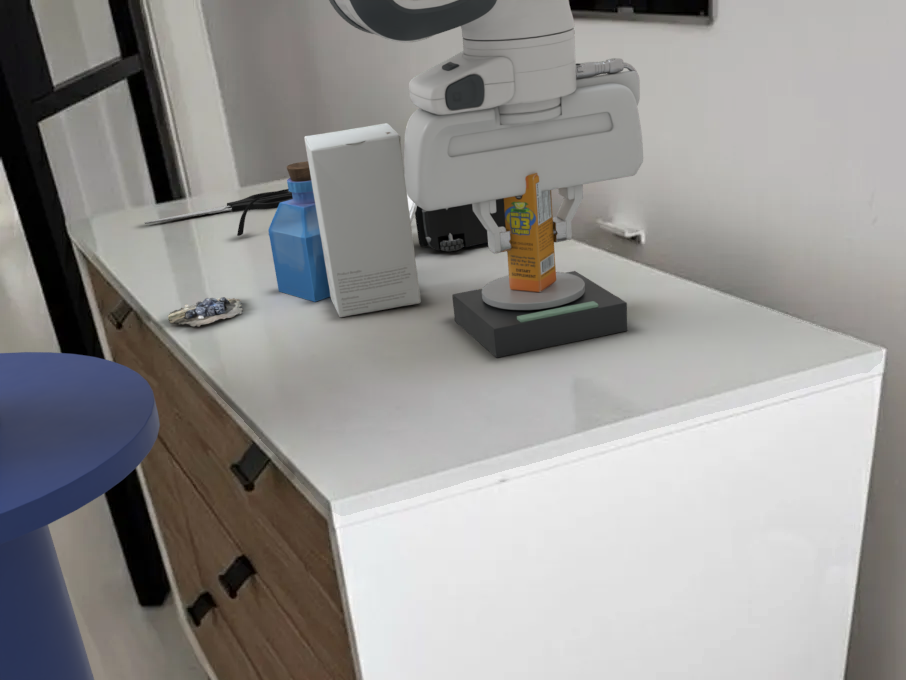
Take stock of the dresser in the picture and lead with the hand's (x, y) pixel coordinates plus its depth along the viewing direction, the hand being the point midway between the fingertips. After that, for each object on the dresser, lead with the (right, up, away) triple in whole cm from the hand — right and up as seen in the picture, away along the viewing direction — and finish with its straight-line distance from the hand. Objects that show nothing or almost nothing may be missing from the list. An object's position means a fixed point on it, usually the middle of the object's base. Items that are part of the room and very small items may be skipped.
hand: (530, 245), depth 104 cm
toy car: (-3, +10, +24) cm, 26 cm away
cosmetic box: (-14, -2, +13) cm, 19 cm away
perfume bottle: (-20, +1, +19) cm, 27 cm away
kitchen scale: (+1, -6, +3) cm, 7 cm away
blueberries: (-31, -3, +15) cm, 34 cm away
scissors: (-36, +19, +51) cm, 65 cm away
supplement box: (0, -3, +2) cm, 4 cm away
